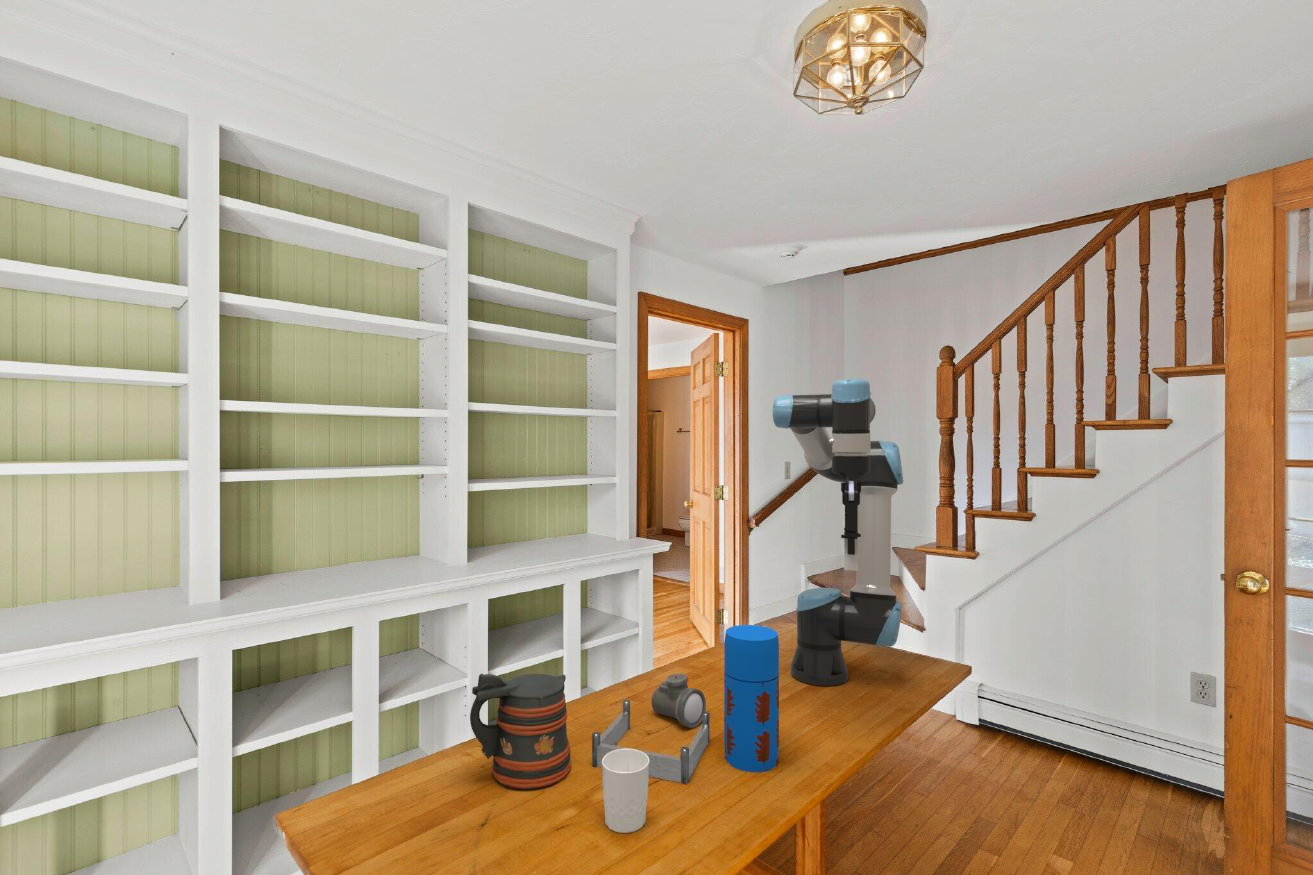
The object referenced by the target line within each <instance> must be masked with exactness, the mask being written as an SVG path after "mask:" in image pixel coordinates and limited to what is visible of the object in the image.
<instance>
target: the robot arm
mask: <svg viewBox="0 0 1313 875" xmlns="http://www.w3.org/2000/svg"><path fill="white" fill-rule="evenodd" d="M831 386H832V387H831V393H830V394H829V393H824V394H822V393H821V394H788V395H779V396H777V397H776V398H774V400H773V403H772V404H773V405H772V420H773V424H774V426H775V427H776V428H779V429H790V430H791V432H792V433H793V435H794V437H795V438H796V440H797V442H798V443H799V446H800V447H801V448H802V450H803V451H804V454H803V455H804V460H805V462H806V464H807V465H808V466H809V468H811V469H812V470H813V471H814V472H815V473H817V474H818V475H820V476H822V478H823V477H824V478H826V479H827V480H831V481H833V482H837V483H838V482H839V483H840V491H841V494H842V495H841V496H842V497H841V499H842V502H841V503H842V505H844V527H843V530H844V531H843V534H841V535H840V538H841V539H843V542H844V543H843V548H844V549H843V565H844V566H843V567H844V569H843V570H844V571H855V573H856V574H855V575H856V576H855V577H856V580H855V584H854V586H852V587H851V589H849V596H847V595H845V596H844V595H843V593H842V590H840V589H839V588H834V587H817V588H811V589H806V590H804V591H802V592H800V593H799V594H798V596H797V605H796V609H795V610H796V632H797V633H796V634H797V636H796V637H797V638H796V643H797V644H796V647H795V651H794V654H793V656H792V660H791V663H790V675H791V677H793V679H795V680H797V681H798V682H801V681H802V682H801V683H805V684H807V685H812V686H819V687H820V686H821V687H834V686H840V685H842V684H845V683H847V681H849V669H848V666H847V663H846V660H845V657H844V654H843V651H842V650H843V649H842V642H850V643H857V644H864V645H871V646H875V647H894V646H895V645H896V643H897V641H898V637H899V632H900V626H901V625H900V624H901V619H902V613H903V612H902V610H903V603H902V601H899V600H897V593H896V592H895V591H894V590H893V589H892V587H891V565H892V564H891V560H892V559H891V556H892V555H891V553H892V552H891V550H892V547H891V546H892V542H891V541H892V540H891V539H892V497H893V496H894V495H895V494H896V493H897V492H898V485H899V486H900V485H903V484H904V476H903V474H904V473H903V465H902V460H901V453H900V449H899V446H898V444H897V443H895V442H894V441H884V440H872V441H871V430H870V428H871V423H872V422H873V420H874V419H875V416H876V412H877V410H876V404H875V401H873V399H872V398H871V396H872V395H871V394H872V392H871V384H870V382H869V381H868V380H866V379H861V378H860V379H857V378H855V379H853V378H851V379H839V380H836V381H834V382H833V384H832V385H831ZM827 428H831V429H832V430H831V433H832V436H830V434H829V432H828V430H827ZM831 437H832V438H831Z"/></svg>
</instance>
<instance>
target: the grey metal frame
mask: <svg viewBox="0 0 1313 875" xmlns="http://www.w3.org/2000/svg"><path fill="white" fill-rule="evenodd" d="M710 714H711V713H710V712H709V711H706V712H702V722H701V725H700V727H699V729H698V731H697V732H696V733H695V736H694V737H693V738H692V740H691V742H690V744H689V746H688V747H687V746H681V747H680V751H679V752H680V753H679V754H680V755H679V756H676V755H669V754H663V753H659V752H652V751H646V750H641V749H638V748H637V749H636V750H639V751H642V752H644V753H645V754H646V755H647V756H648V757H649V778H655V779H659V780H660V779H661V780H666V781H672V782H675V783H680V784H682V785H683V784H684V785H687V784H689V783H690V778H691V776H693V775H692V774H693V772H694V771H695V769H696V767H697V765H698V764H699V761H700V760H701V757H702V756H703V754H704V752H705V751H706V748H707V746H708V745H709V744H710V741H711V740H710V739H711V738H710V737H711V736H710V733H711V732H710V730H711V729H710V724H711V723H710V722H711V721H710V719H711V715H710ZM630 729H631V701H630V700H629V699H624V700H623V701H622V712H621V713H620V714H619V715H617V717H616V718H615V719H614V720H613V721H612V722H611V723H610V724H609V725H608V726H607V728H606V729H605V730H604V731H603V732H602V733H601V732H600V731H593V732H592V733H591V766H592V767H595V768H597V767H598V768H602V759H603V757H604V756H605V755H606V754H607V753H609V752H611V751H614V750H618V749H632V748H631V747H625V746H618V745H617V744H618V743H619V742H620V740H621V739H622V737H624V736H625V735H626V733H627V732H628V731H629V730H630Z"/></svg>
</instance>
